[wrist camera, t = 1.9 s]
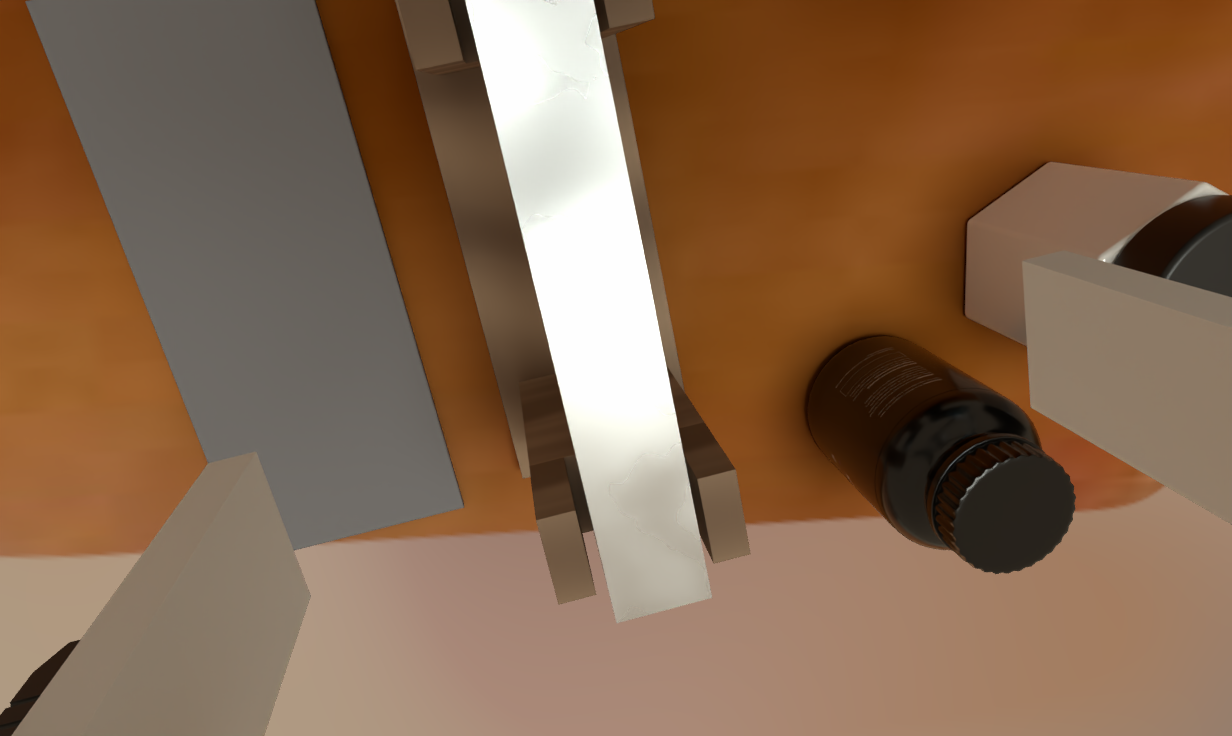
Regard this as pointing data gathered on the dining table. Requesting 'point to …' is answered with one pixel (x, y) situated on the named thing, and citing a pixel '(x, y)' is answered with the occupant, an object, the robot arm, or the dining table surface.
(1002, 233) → the jar
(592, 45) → the rail
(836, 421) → the supplement bottle
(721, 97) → the dining table surface
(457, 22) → the stand
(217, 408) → the mat
